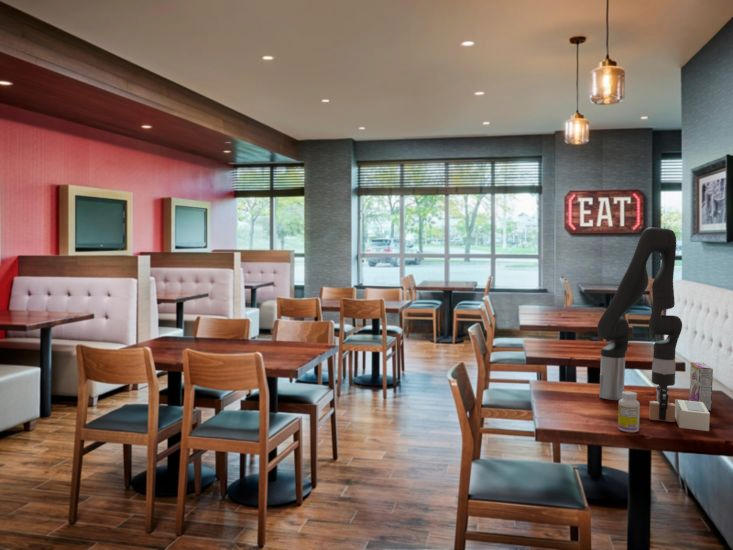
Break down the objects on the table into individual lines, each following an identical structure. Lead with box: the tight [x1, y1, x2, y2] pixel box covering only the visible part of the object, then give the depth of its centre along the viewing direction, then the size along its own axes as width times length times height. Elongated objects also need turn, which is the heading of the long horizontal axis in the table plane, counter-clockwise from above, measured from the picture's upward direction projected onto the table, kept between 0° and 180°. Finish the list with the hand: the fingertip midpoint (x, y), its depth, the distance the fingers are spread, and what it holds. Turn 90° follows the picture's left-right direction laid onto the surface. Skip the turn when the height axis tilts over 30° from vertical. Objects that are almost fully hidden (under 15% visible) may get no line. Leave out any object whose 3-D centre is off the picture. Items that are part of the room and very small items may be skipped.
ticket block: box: [674, 399, 711, 432], centre depth 215 cm, size 9×16×6 cm, turn 159°
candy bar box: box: [688, 361, 714, 411], centre depth 237 cm, size 11×5×16 cm, turn 168°
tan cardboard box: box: [648, 400, 676, 423], centre depth 218 cm, size 8×4×6 cm, turn 68°
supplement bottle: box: [617, 390, 641, 433], centre depth 206 cm, size 7×7×13 cm
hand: (661, 417), depth 219 cm, fingers closed on tan cardboard box, 4 cm apart
